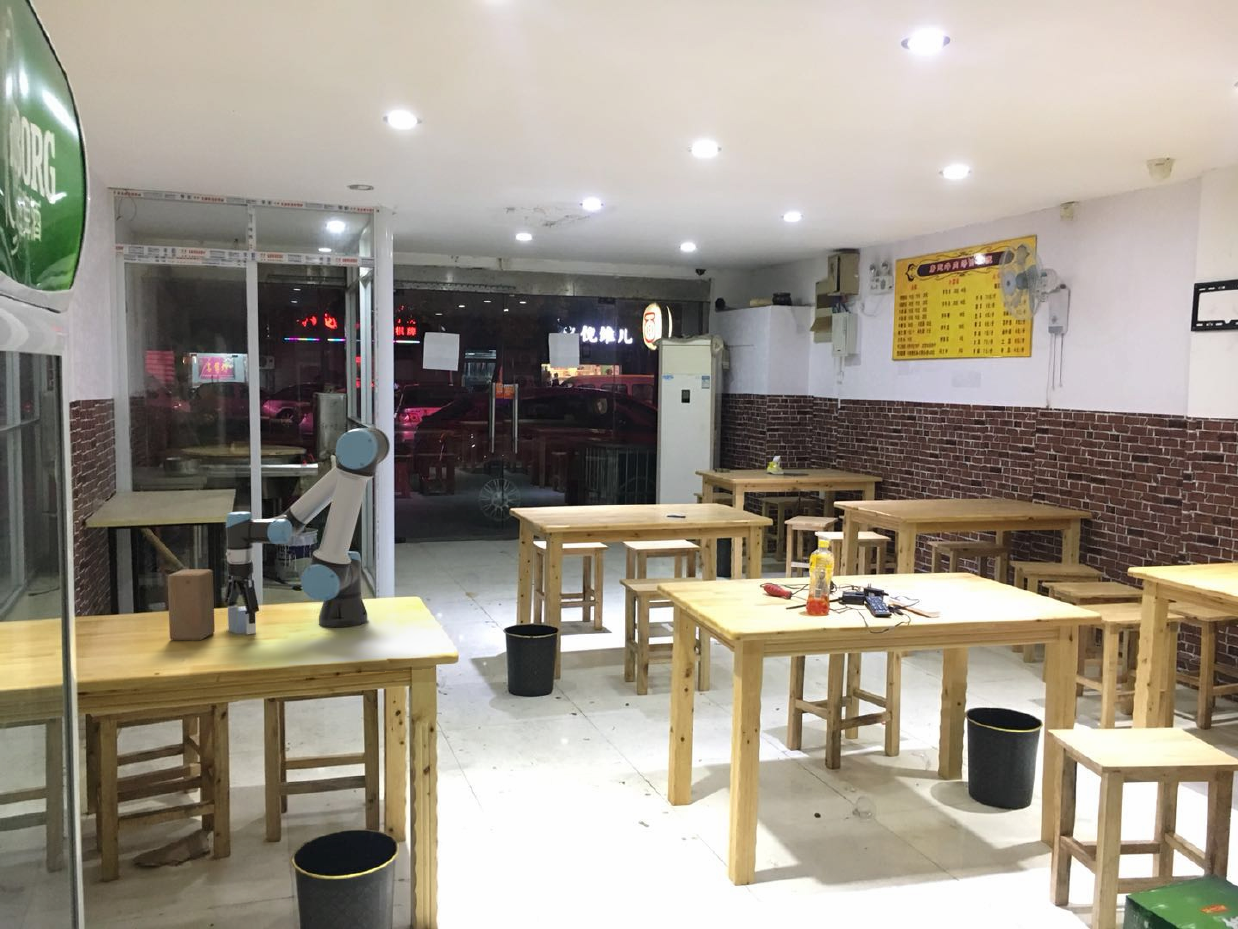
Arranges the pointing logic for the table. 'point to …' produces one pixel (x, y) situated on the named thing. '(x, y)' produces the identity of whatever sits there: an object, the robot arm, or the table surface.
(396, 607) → the table surface
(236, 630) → the slate block
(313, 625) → the table surface
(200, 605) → the wooden block
